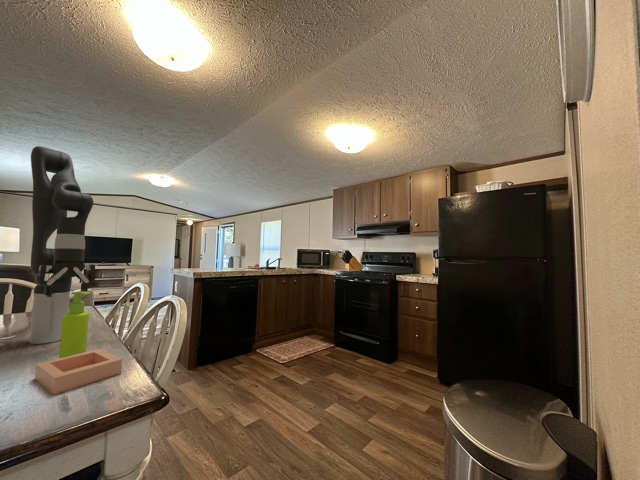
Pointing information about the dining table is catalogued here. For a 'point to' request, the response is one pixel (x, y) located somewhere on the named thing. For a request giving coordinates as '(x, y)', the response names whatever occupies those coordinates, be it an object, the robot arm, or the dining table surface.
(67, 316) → the green pump bottle
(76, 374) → the tray
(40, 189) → the robot arm
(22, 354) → the dining table surface
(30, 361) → the dining table surface
